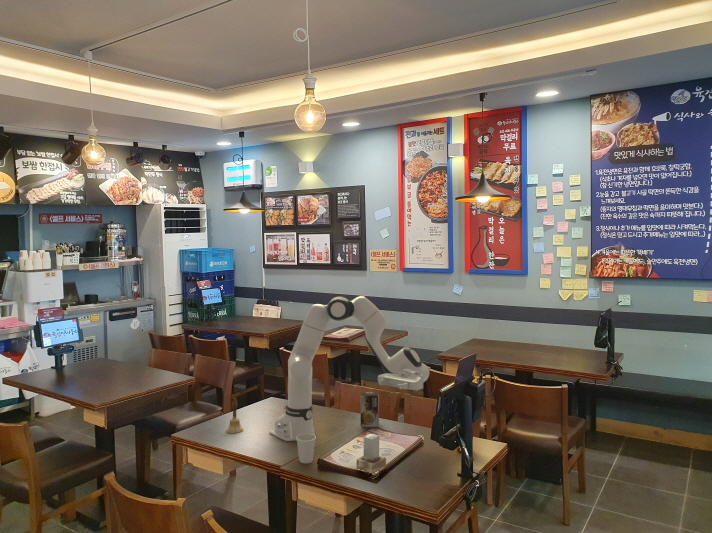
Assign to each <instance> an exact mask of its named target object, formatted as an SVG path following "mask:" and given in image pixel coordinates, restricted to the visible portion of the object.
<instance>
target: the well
mask: <svg viewBox="0 0 712 533" xmlns="http://www.w3.org/2000/svg"><path fill="white" fill-rule="evenodd" d="M385 466H386V467H387V457H384V456H380V455H379V460H378V461H377V462H375V463H371V462H367V461H364V455H362V456H361V457H359V458H357V459H356V469H360V470H364V471H367V472H369V473H375V472H377V471H379V470H380V469H381V468H383V467H385Z"/></svg>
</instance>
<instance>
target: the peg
mask: <svg viewBox="0 0 712 533" xmlns="http://www.w3.org/2000/svg"><path fill="white" fill-rule="evenodd" d="M363 456H364V461H367V462H371V463H375V462H377V461H378V460H379V456H380V435H378V434H374V433H368V434H366V435H364V436H363Z"/></svg>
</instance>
